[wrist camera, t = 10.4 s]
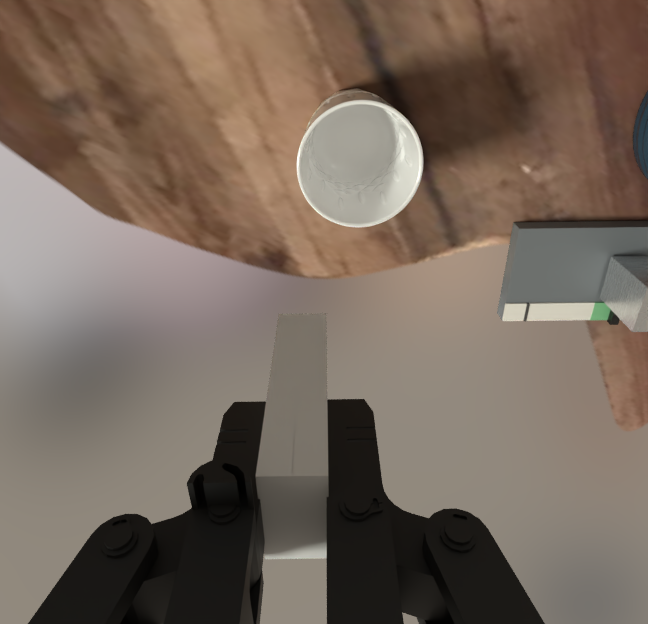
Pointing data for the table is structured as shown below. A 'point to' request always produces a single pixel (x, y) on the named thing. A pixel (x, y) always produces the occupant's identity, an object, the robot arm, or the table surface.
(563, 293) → the gauge base
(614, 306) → the block
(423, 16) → the table surface
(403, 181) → the white cup
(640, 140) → the canister
